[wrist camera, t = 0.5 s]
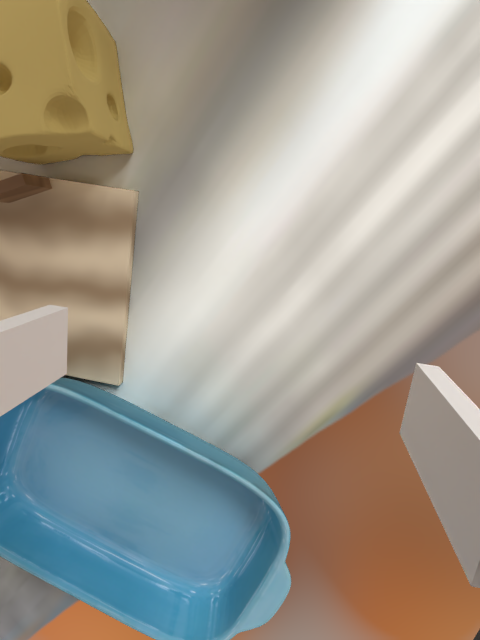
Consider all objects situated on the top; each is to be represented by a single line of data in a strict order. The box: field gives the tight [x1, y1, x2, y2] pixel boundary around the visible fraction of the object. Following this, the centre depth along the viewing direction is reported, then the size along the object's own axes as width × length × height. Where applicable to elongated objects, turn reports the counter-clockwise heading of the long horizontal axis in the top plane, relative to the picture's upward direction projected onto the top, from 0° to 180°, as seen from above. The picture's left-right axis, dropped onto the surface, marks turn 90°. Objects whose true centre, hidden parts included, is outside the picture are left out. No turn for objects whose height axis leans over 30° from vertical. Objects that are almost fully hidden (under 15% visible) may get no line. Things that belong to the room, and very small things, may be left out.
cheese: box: [0, 0, 133, 164], centre depth 34 cm, size 10×11×10 cm
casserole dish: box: [0, 378, 291, 640], centre depth 44 cm, size 37×22×7 cm, turn 64°
